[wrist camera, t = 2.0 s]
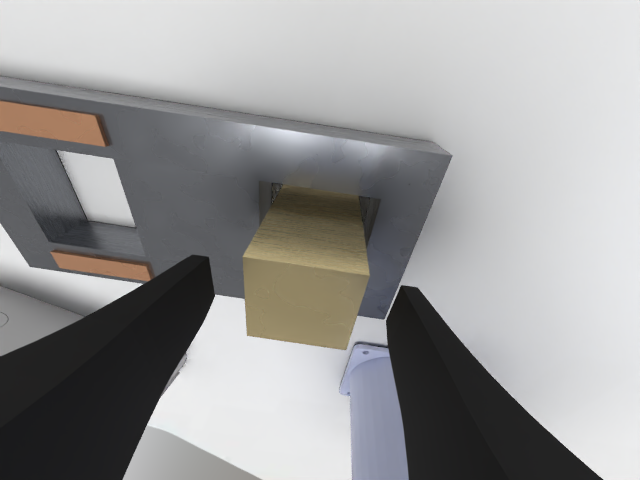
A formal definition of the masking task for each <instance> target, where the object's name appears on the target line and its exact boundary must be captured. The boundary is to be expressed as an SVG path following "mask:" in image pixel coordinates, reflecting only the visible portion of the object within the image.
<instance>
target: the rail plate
mask: <svg viewBox="0 0 640 480" xmlns="http://www.w3.org/2000/svg"><path fill="white" fill-rule="evenodd" d="M56 150H60V151H67V152H73V153H80V154H86V155H93V156H100V157H106V158H113V159H114V162H115V165H116V168H117V171H118V174H119V177H120V180H121V183H122V186H123V189H124V192H125V195H126V198H127V201H128V204H129V207H130V210H131V213H132V216H133V219H134V222H135V225H136V228H132V227H125V226H118V225H112V224H105V223H98V222H92V221H87V219H86V217H85V214H84V212H83V210H82V208H81V206H80V203H79V201H78V199H77V197H76V194H75V192H74V190H73V188H72V186H71V183H70V181H69V179H68V177H67V174H66V172H65V170H64V168H63V166H62V163H61V161H60V159H59V157H58V154H57V152H56ZM451 158H452V155H451V154H450V153H448V152H447V151H445V150H444V149H442V148H441V147H440V146H438V145H437V144H435V143H434V142H430V141H423V140H417V139H410V138H404V137H397V136H390V135H384V134H377V133H371V132H364V131H358V130H351V129H345V128H338V127H331V126H325V125H318V124H312V123H305V122H299V121H292V120H286V119H279V118H273V117H266V116H259V115H253V114H246V113H240V112H233V111H227V110H220V109H214V108H207V107H201V106H194V105H187V104H181V103H174V102H168V101H161V100H155V99H148V98H142V97H135V96H128V95H122V94H115V93H109V92H102V91H96V90H89V89H83V88H76V87H70V86H63V85H56V84H50V83H43V82H37V81H30V80H24V79H17V78H11V77H4V76H0V223H1V225H2V226H3V228H4V229H5V230H6V232H7V233H8V235H9V236H10V238H11V239H12V241H13V242H14V244H15V245H16V247H17V248H18V250H19V251H20V253H21V254H22V256H23V257H24V259H25V260H26V262H27V263H28V264H29V266H30V267H35V268H41V269H48V270H55V271H62V272H68V273H75V274H82V275H88V276H95V277H102V278H109V279H115V280H122V281H129V282H135V283H142V284H145V283H146V282H148V281H150V280H151V279H153V278H155V277H156V276H158V275H160V274H161V273H163V272H164V271H166V270H168V269H169V268H171V267H172V266H174V265H176V264H177V263H179V262H180V261H182V260H184V259H185V258H187V257H189V256H191V255H192V254H193V255H200V256H207V257H209V261H210V267H211V273H212V280H213V286H214V293H215V294H216V295H223V296H229V297H236V298H243V299H245V291H244V274H243V255H244V253H245V251H246V250H247V248H248V246H249V244H250V243H251V241H252V239H253V237H254V235H255V234H256V232H257V230H258V228H259V227H260V225H261V223H262V221H263V219H264V218H265V216H266V214H267V212H268V211H269V209H270V207H271V205H272V183H278V184H285V185H291V186H298V187H304V188H311V189H318V190H324V191H331V192H337V193H344V194H351V195H357V196H364V197H370V202H369V206H368V209H367V213H366V217H365V221H364V225H363V230H364V237H365V244H366V251H367V259H368V266H369V273H370V277H369V280H368V283H367V286H366V289H365V292H364V296H363V299H362V302H361V305H360V308H359V311H358V314H357V316H364V317H370V318H377V319H385V316H386V314H387V312H388V309H389V307H390V304H391V302H392V300H393V297H394V295H395V292H396V290H397V288H398V285H399V283H400V280H401V278H402V276H403V273H404V271H405V268H406V266H407V264H408V261H409V259H410V256H411V254H412V252H413V249H414V247H415V244H416V242H417V240H418V237H419V235H420V232H421V230H422V228H423V225H424V223H425V220H426V218H427V216H428V213H429V211H430V208H431V206H432V204H433V201H434V199H435V196H436V194H437V192H438V189H439V187H440V184H441V182H442V179H443V177H444V175H445V172H446V170H447V167H448V165H449V163H450V160H451Z"/></svg>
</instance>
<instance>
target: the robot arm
mask: <svg viewBox="0 0 640 480" xmlns="http://www.w3.org/2000/svg"><path fill="white" fill-rule="evenodd" d="M214 297H215V293H214V286H213V280H212V273H211V267H210V261H209V257H207V256H200V255H193V254H192V255H191V256H189V257H187V258H185V259H184V260H182V261H180V262H179V263H177V264H176V265H174V266H172V267H171V268H169V269H168V270H166V271H164V272H163V273H161V274H160V275H158V276H156V277H155V278H153V279H151V280H150V281H148V282H146V283H145V284H143V285H141V286H140V287H138V288H136V289H135V290H133V291H131V292H130V293H128V294H126V295H124V296H122V297H121V298H119V299H117V300H115V301H113V302H112V303H110V304H108V305H106V306H105V307H103V308H101V309H99V310H97V311H96V312H94V313H92V314H90V315H88V316H86V317H84V318H82V319H80V320H78V321H76V322H74V323H72V324H70V325H68V326H66V327H64V328H62V329H60V330H58V331H56V332H54V333H52V334H50V335H47V336H45V337H43V338H41V339H39V340H37V341H34V342H32V343H30V344H27V345H25V346H23V347H21V348H18V349H16V350H14V351H11V352H9V353H7V354H4V355H2V356H0V480H122V479H123V477H124V475H125V472H126V470H127V468H128V465H129V463H130V461H131V459H132V456H133V454H134V452H135V450H136V448H137V445H138V443H139V441H140V439H141V437H142V434H143V432H144V430H145V427H146V426H147V423H148V421H149V419H150V417H151V415H152V413H153V411H154V409H155V407H156V405H157V403H158V401H159V398H160V396H161V394H162V392H163V391H164V389H165V387H166V385H167V383H168V381H169V380H170V378H171V376H172V374H173V373H174V371H175V369H176V368H177V366H178V364H179V363H180V361H181V359H182V358H183V356H184V354H185V353H186V351H187V349H188V347H189V346H190V344H191V342H192V341H193V339H194V337H195V336H196V334H197V332H198V331H199V329H200V327H201V325H202V324H203V322H204V320H205V318H206V316H207V313H208V311H209V309H210V306H211V304H212V302H213V299H214ZM386 326H387V340H388V348H382V347H376V346H369V345H362V344H357V345H355V346H354V348H353V351H352V353H351V356H350V359H349V362H348V365H347V368H346V371H345V374H344V377H343V380H342V383H341V385H340V388H339V393H340V394H342V395H346V396H350V417H351V461H352V480H603V479H602V478H601V477H599V476H598V475H597V474H596V473H595V472H594V471H592V470H591V469H590V468H589V467H588V466H587V465H585V464H584V463H583V462H582V461H581V460H580V459H579V458H577V457H576V456H575V455H574V454H573V453H572V452H571V451H569V450H568V449H567V448H566V447H565V446H564V445H563V444H562V443H561V442H559V441H558V440H557V439H556V438H555V437H554V436H553V435H552V434H551V433H550V432H548V431H547V430H546V429H545V428H544V427H543V426H542V425H541V424H540V423H539V422H538V421H536V420H535V419H534V418H533V417H532V416H531V415H530V414H529V413H528V412H527V411H526V410H525V409H524V408H523V407H522V406H521V405H520V404H519V403H518V402H517V401H516V400H515V399H514V398H513V397H512V396H511V395H510V394H509V393H508V392H507V391H506V390H505V389H504V388H503V387H502V386H501V385H500V384H499V383H498V382H497V381H496V380H495V379H494V378H493V377H492V376H491V375H490V374H489V373H488V372H487V370H486V369H485V368H484V367H483V366H482V365H481V364H480V363H479V362H478V360H477V359H476V358H475V357H474V356H473V355H472V354H471V353H470V351H469V350H468V349H467V348H466V347H465V346H464V345H463V343H462V342H461V341H460V340H459V339H458V337H457V336H456V335H455V334H454V333H453V331H452V330H451V329H450V328H449V326H448V325H447V324H446V323H445V321H444V320H443V319H442V318H441V316H440V315H439V314H438V313H437V311H436V310H435V309H434V308H433V306H432V305H431V304H430V302H429V301H428V300H427V299H426V297H425V296H424V295H423V294H422V292H421V291H420V290H419V289H418V288H417V287H410V286H403V285H401V287H400V290H399V292H398V294H397V297H396V299H395V301H394V304H393V306H392V308H391V311H390V313H389V315H388V318H387V320H386Z"/></svg>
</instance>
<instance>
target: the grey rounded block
mask: <svg viewBox="0 0 640 480" xmlns="http://www.w3.org/2000/svg"><path fill="white" fill-rule="evenodd" d="M84 317H85V316H82V315H79V314H76V313H74V312H71V311H68V310H65V309H63V308H60V307H57V306H54V305H52V304H49V303H46V302H43V301H41V300H38V299H35V298H32V297H30V296H27V295H24V294H21V293H19V292H16V291H13V290H10V289H8V288H5V287H2V286H0V356H2V355H4V354H7V353H9V352H11V351H14V350H16V349H18V348H21V347H23V346H25V345H27V344H30V343H32V342H34V341H37V340H39V339H41V338H43V337H45V336H47V335H50V334H52V333H54V332H56V331H58V330H60V329H62V328H64V327H66V326H68V325H70V324H72V323H74V322H76V321H78V320H80V319H82V318H84ZM185 361H186V353H185V354H184V356H183V358H182V359H181V361H180V363H179V364H178V366H177V368H176V369H175V371H174V373H173V374H172V376H171V378H170V380H169V381H168V383H167V385H166V387H165V389H164V391H163V392H162V394H161V396H162V395H163V394H164V392H165V391H166V390H167V388H168V387H169V386H170V385H171V383H172V382H173V381H174V379H175V378H176V377H177V376H178V374H179V373H180V372H178V371H179V369H180V368H181V367H182V366H183V364H184V363H185ZM161 396H160V397H161ZM159 399H160V398H159Z"/></svg>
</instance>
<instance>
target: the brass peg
mask: <svg viewBox="0 0 640 480" xmlns="http://www.w3.org/2000/svg"><path fill="white" fill-rule="evenodd" d="M243 274H244V291H245V308H246V326H247V336H253V337H260V338H266V339H273V340H280V341H287V342H293V343H300V344H307V345H314V346H321V347H327V348H334V349H341V350H346V349H347V346H348V343H349V340H350V336H351V333H352V330H353V327H354V324H355V321H356V318H357V314H358V311H359V308H360V305H361V302H362V299H363V296H364V292H365V289H366V286H367V283H368V280H369V277H370V273H369V266H368V259H367V251H366V244H365V237H364V230H363V222H362V215H361V208H360V201H359V196H357V195H351V194H344V193H337V192H331V191H324V190H318V189H311V188H304V187H298V186H291V185H285V184H283V186H282V188H281V189H280V191H279V193H278V195H277V196H276V198H275V200H274V202H273V203H272V205H271V207H270V209H269V211H268V212H267V214H266V216H265V218H264V219H263V221H262V223H261V225H260V227H259V228H258V230H257V232H256V234H255V235H254V237H253V239H252V241H251V243H250V244H249V246H248V248H247V250H246V251H245V253H244V255H243Z"/></svg>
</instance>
